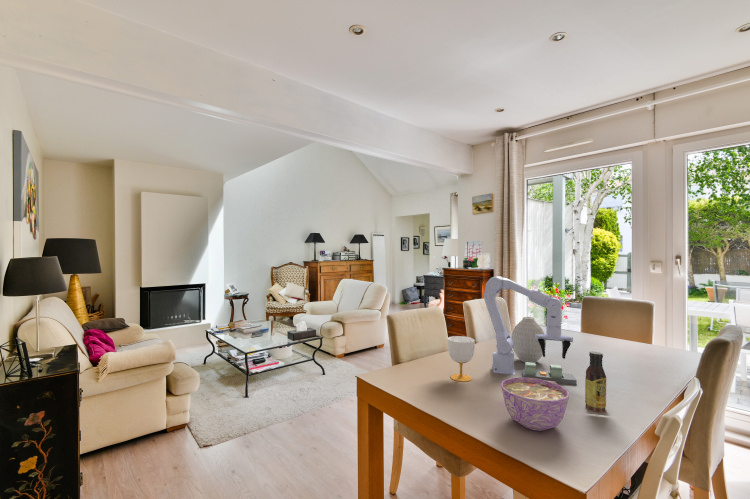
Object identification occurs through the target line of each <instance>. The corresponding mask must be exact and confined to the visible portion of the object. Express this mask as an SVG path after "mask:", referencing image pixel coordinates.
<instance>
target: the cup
mask: <svg viewBox="0 0 750 499" xmlns="http://www.w3.org/2000/svg"><path fill="white" fill-rule="evenodd" d="M475 343H476V340H475V339H474V338H473V337H470V336H465V335H462V336H461V335H459V336H458V335H452V336H449V337H447V348H448V350H447V351H448V353H449V354H448V355H449V357H450V358H451V359H452V361H454V362H455V363H458V364H459V373H456V374H452V375H450V379H451V380H453V381H456V382H460V383H461V382H462V383H465V382H471V381H472V380H473V378H472V377H471V376H470V375H467V374H464V373H463V365H464V364H467V363H468V362H470V361H471V360H472V359H473V357H474V353H475V346H476V344H475Z"/></svg>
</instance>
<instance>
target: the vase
mask: <svg viewBox="0 0 750 499" xmlns="http://www.w3.org/2000/svg"><path fill="white" fill-rule="evenodd" d="M535 334H545V331H544V330H543V328H542V327H541V326H540V324H539V323H537V321H536V320H535V318H534V317H532V316H523V317H522V319H521V320H520V321H519V322H517V324H516V325H515V326H514V328H513V330H512V332H511V335H510V337H511V338H512V339H513V341H514V347H513V348H512V350H513V352H514V355H515V356H516V357H517V358H518V359H519V360H520V361H521V362H522V363H524V364H525V362H532V363H535V364H536V363H537V362H538V361H540V359H541V358H542V357H543V354H542V349H541V346H540V344H539V342H538V340H536V339H535ZM544 341H545V349H546V347H547V340H544Z"/></svg>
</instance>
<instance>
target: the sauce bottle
mask: <svg viewBox="0 0 750 499" xmlns="http://www.w3.org/2000/svg"><path fill="white" fill-rule="evenodd" d="M588 355H589V365H588V366H587V368H586V370H585V384H584V386H585V388H584V389H585V390H584V391H585V392H584V403H585V408H586V409H588V410H589V411H592V412H595V413H597V412H598V413H604V412H605V411H606V408H607V376H606V372H605V370H604V367H603V357H604V354H603V353H602V352H600V351H599V352H598V351H594V350H593V351H589V354H588Z"/></svg>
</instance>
